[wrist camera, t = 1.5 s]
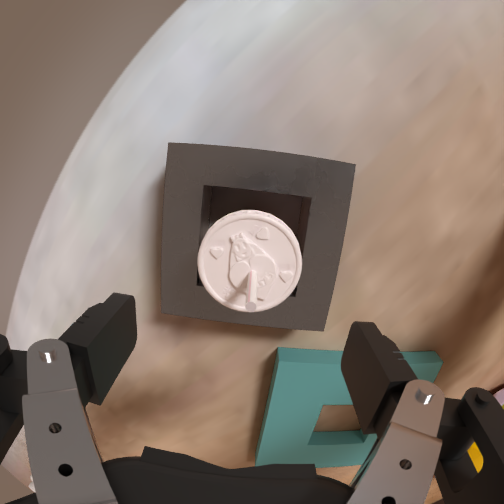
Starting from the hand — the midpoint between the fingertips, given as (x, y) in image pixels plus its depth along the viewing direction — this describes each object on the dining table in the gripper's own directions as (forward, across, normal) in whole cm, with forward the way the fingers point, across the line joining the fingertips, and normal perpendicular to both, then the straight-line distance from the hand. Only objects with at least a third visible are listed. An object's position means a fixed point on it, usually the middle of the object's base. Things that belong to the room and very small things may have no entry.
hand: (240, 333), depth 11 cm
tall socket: (+17, 0, 0) cm, 17 cm away
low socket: (+17, -14, +22) cm, 31 cm away
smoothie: (+18, 0, 0) cm, 18 cm away
